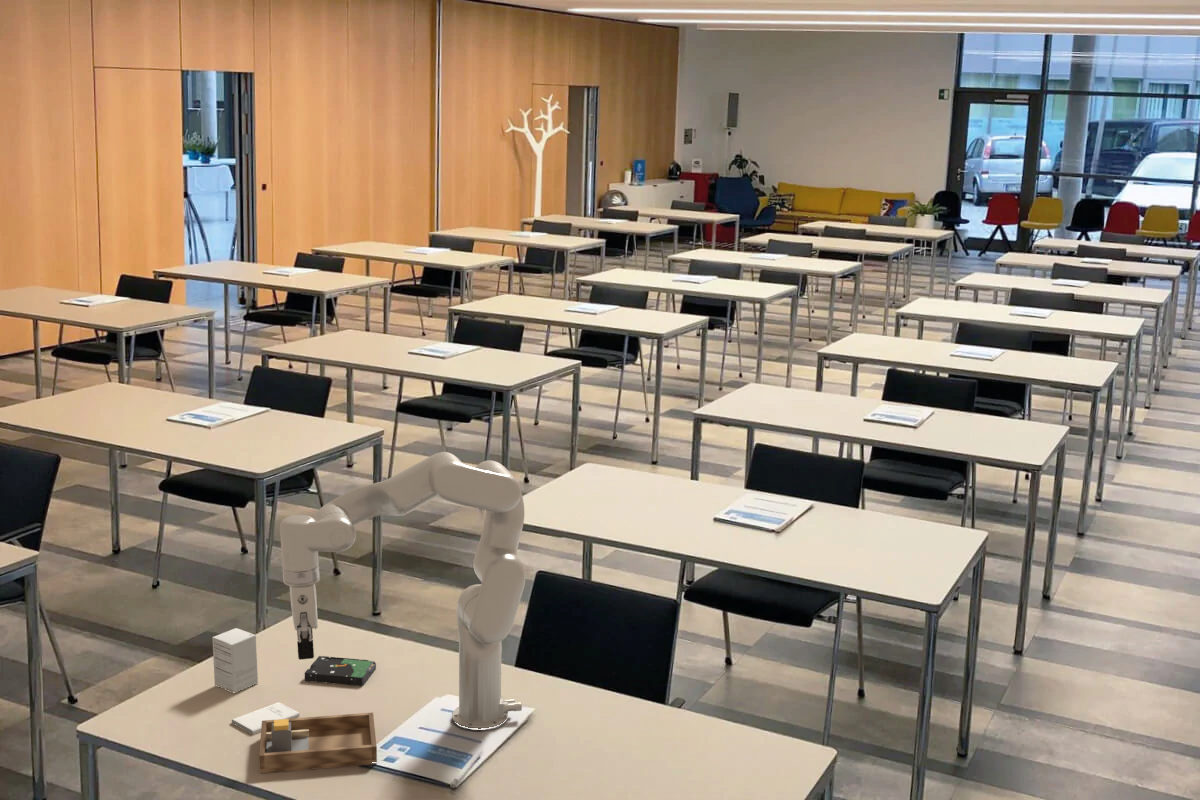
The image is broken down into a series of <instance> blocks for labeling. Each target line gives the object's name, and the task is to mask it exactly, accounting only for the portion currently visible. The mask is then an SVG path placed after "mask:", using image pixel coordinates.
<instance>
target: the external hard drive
mask: <svg viewBox="0 0 1200 800" xmlns="http://www.w3.org/2000/svg"><path fill="white" fill-rule="evenodd" d="M292 718H300V712H299V711H297V710H295V709H293V708H291V707H289V706H287V705H286V704H284V703H282V702H278V701H277V702H275V703H273V704H270V705H267V706H265V707H261V708H259V709H257V710H254V711H251V712H249V713H248V712H247V713H246V714H243V715H241V716H238V717H235V718H233V719H231V724H233V723H234V724H236V725H237V726H236V725H235V726H236V727H238V726H239V727H238V728H240V727H241V728H240V729H242V728H243V729H244V730H243V729H242V730H243V731H245V730H246V731H245V732H247V731H248V732H247V733H249V734H250V733H251V735H252V734H253V736H254V735H257V734H259V733H261V726H262V721H265V720H278V719H292ZM234 724H233V725H234Z"/></svg>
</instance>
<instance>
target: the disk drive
mask: <svg viewBox="0 0 1200 800" xmlns="http://www.w3.org/2000/svg"><path fill="white" fill-rule="evenodd" d="M376 669H377V663H376V661H373V660H369V659H359V658H349V657H335V656H327V655H319V656H318V657H317V658H316V659H315V661H314V662H313V663H311V665H310V667H309V668H307V669H306V670H305V672H304V682H310V681H315V682H314V683H322V682H327V683H326V684H333V683H335V685H347V686H356V687H357V686H358V687H364V686H365V685H366V683H367V682H368V681H369V679H370V678H371V677H372V675H373V674H374V672H375V671H376ZM316 681H317V682H316Z"/></svg>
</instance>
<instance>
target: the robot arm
mask: <svg viewBox="0 0 1200 800" xmlns="http://www.w3.org/2000/svg"><path fill="white" fill-rule="evenodd" d="M438 497H439V498H441V499H443V500H444V501H446V502H449V503H453V504H456V505H460V506H465V507H470V508H473V509H478V510H482V511H483V510H484V511H485V519H484V523H483V528H482V531H481V534H480V538H479V542H478V545H477V549H476V552H475V555H474V558H473V561H472V562H473V563H472V565H473V570H474V573H475V575H476V576H477V578H478V579H479V581H480V582H481V584H480V583H479V584H478V583H476V584H472V585H469V586H468V587H466V588H465V589H464V590H463V591H462V592H461V593H460V595H459V597H458V599H457V603H456V620H457V629H458V652H459V653H458V658H459V659H458V700H459V702H458V707H456V708H455V709H454V710H453V712H452V713H451V714H452V715H451V717H452V718H453V720H454V722H456V723H458V724H459V725H461V726H465V727H468V728H478V729H481V728H489V727H494V726H497V725H500V724H501V723H503V722H504V721H505V720H506V719H507V717H509V715H508V714H509V712H521V711H522V710H523V707H522V702H520V701H519V702H515V698H512V699H511V698H510V699H505V698H503V696H502V655H503V653H502V651H503V650H502V647H503V646H502V642H503V641H504V640H505V639H506V637H507V636H508V635H509V634H510V632H511V630H512V628H513V625H514V623H515V620H516V616H517V613H518V609H519V606H520V604H521V603H520V602H521V600H522V596H523V592H524V588H525V584H526V570H525V566H524V564H523V563H522V561H521V560H520V558H519V557H518V555H517V553H518V549H519V545H520V544H519V543H520V541H521V536H522V531H523V528H524V522H525V504H524V503H525V502H524V497H523V495H522V489H521V485H520V483H519V481H518V480H517V478H515V476H513V474H512V473H511V472H510V471H509V470H508V469H507V468H506V466H504V465H503V464H501V463H500V462H498V461H495V460H491V459H490V460H488V459H487V460H484V461H481V462H479V464H477V465H476V467H473V466H469V465H467V464H464V463H463V461H461V459H460V458H458V456H456V455H454V454H453V453H451V452H447V451H440V452H436V453H434V454H433V455H432V454H431V456H428V457H427V458H425V459H423V460H421V461H418V463H415V464H413V465H412V466H410V467H408V468H406V469H404V470H402V471H401V472H399V473H397V474H395V475H392V476H391V477H389V478H387V479H385V480H382V481H379V482H375V483H374V482H373V483H371V484H367V485H365V486H360V487H357V488H354V489H352V490H349V491H347V492H346V493H344V494H342V495H340V496H338V497H336V498H334V499H332V500H331V501H329V502H327V503H325V504H323V506H321V507H320V509H318V511H317V512H316V513H315V515H314V518H313V517H312V516H311V515H305V514H296V515H295V514H294V515H291V516H288V517H285V518H284V519H282V520H281V523H279V524H280V525H279V535H280V549H281V552H280V553H281V562H282V564H281V565H282V581H283V583H284V585H286V586H288V587H289V596H290V597H289V598H290V605H291V606H290V607H291V614H292V621H293V626H294V627H293V628H294V630H295V631H296V632H297V633H296V635H297V658H298V660H309V659H314V657H315V653H314V651H315V650H314V649H315V648H314V639H313V637H314V635H313V629H314V630H317V629H318V626H319V624H318V623H319V621H318V603H317V588H316V584H317V583H318V582H319V581H320V580H321V577H320V576H321V575H320V564H319V563H320V561H319V559H320V558H319V552H323V553H340V552H344V551H347V550H348V549H350V548H351V547H352V546H353V545H354V544H355V541H356V537H357V531H356V528H355V525H357V524H360V523H362V522H363V521H366V520H368V519H371V518H374V517H378V516H393V517H397V516H398V517H399V516H405V515H407V514H410V513H411V512H413V511H415V510H416V509H419V508H420V507H422V506H424V505H425V504H427V503H429V502H431V501H433V500H435V499H436V498H438ZM453 720H452V721H453ZM507 720H508V719H507ZM454 722H453V723H454Z"/></svg>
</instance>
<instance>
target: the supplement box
mask: <svg viewBox="0 0 1200 800" xmlns="http://www.w3.org/2000/svg"><path fill="white" fill-rule="evenodd" d="M211 640H212V655H213V657H212V659H213V674H214V675H213V677H214V686H215V685H217V686H219V687H222V688H224V689H226V690H229V691H231V692H235V694H237V693H239V692H238V691H240V690H242V689H244V688H246V689H248V688H247V687H249V686H251V687H253V686H255V685H257V684H256V683H258V684H259V679H258V677H259V676H258V674H259V673H258V658H257V657H258V656H257V653H258V652H257V636H256V635H255V634H253V633H252V632H249V631H245V630H243V629H240V628H237V627H235V628H232V629H230V630H227V631H224V632H222V633H219V634H217V635H215V636H212V639H211ZM254 684H255V685H254ZM252 685H253V686H252ZM217 686H216V687H217ZM219 687H218V688H219ZM249 688H250V687H249ZM224 689H223V690H224ZM226 690H225V691H226ZM244 690H245V689H244ZM229 691H228V692H229ZM242 691H243V690H242ZM231 692H230V693H231ZM236 692H237V693H236ZM240 692H241V691H240Z"/></svg>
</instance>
